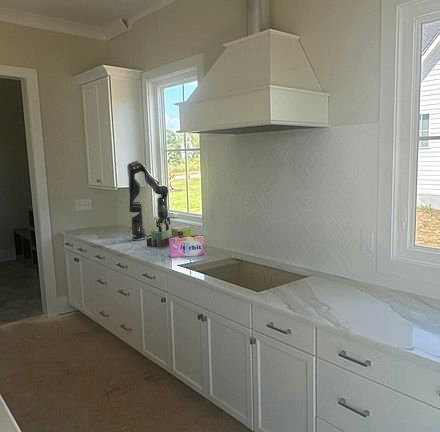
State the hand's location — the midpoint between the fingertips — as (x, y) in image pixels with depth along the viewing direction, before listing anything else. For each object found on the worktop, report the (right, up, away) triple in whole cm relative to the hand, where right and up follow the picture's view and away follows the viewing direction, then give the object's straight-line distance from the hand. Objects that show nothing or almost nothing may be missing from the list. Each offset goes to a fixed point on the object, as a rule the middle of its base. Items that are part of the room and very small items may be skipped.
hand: (163, 231), depth 321 cm
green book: (0, -12, +2) cm, 12 cm away
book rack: (-5, -13, +4) cm, 14 cm away
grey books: (-3, -12, +3) cm, 12 cm away
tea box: (+14, -12, +8) cm, 20 cm away
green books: (-7, -12, +5) cm, 14 cm away
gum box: (+24, -17, -27) cm, 40 cm away
